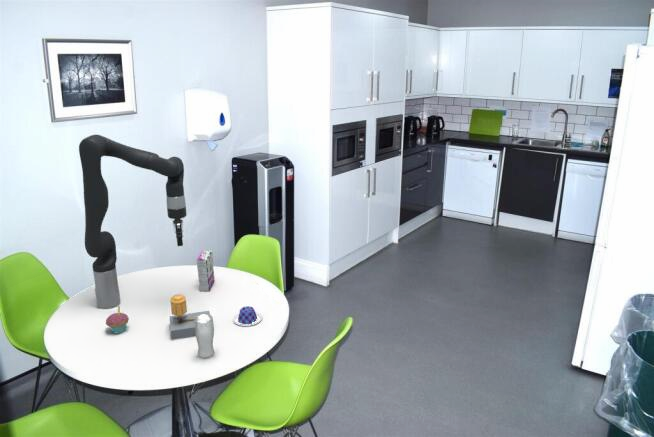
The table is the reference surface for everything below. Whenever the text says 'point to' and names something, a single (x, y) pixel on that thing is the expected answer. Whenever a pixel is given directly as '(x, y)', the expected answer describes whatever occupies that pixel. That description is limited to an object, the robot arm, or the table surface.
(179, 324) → the box
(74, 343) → the table surface
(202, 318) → the beer glass
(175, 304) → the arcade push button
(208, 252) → the candy bar box
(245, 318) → the pudding
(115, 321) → the cupcake
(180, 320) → the wooden post
